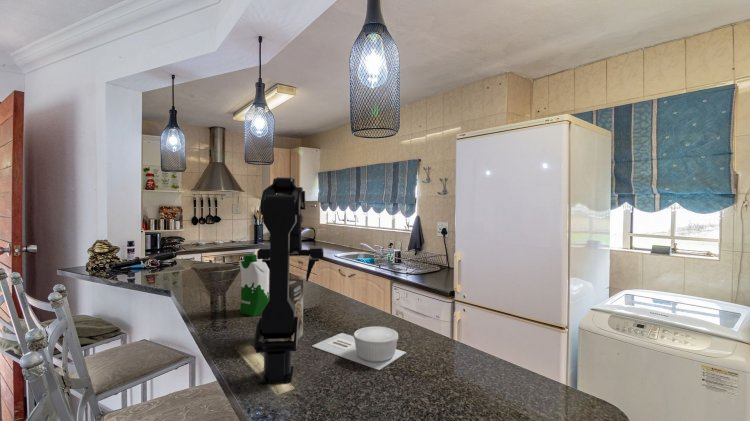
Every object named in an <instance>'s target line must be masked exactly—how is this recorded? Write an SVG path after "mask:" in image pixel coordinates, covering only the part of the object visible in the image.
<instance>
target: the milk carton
mask: <svg viewBox="0 0 750 421" xmlns="http://www.w3.org/2000/svg"><path fill="white" fill-rule="evenodd" d="M243 258H244V259H242V260H239V261H238V264H239V269H240V274H241V275H240V283H241V284H240V307H239V313H241V314H244V315H247V316H252V317H255V316H258V315H262V312H263V310H264V309H265V307H266V305H267V304H268V302H269V285H270V270H269V268H268V266H267V264H266V263H265V262H262V260H263V259H257V254H253V253H252V254H245V255H243Z"/></svg>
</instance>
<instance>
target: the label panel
mask: <svg viewBox="0 0 750 421" xmlns="http://www.w3.org/2000/svg"><path fill="white" fill-rule="evenodd" d="M311 347H312V348H315V349H318V350H321V351H323V352H326V353H329V354H333V355H335V356H338V357H341V358H344V359H346V360H348V361H352V362H355V363H357V364H360V365H363V366H366V367H369V368H372V369H375V370H378V371H380V370H382V369H384V368H385V367H386V366H388V365H390V364H391V363H393V362H394V361H396V360H398V359H400V358H401V357H402V356H403V355H405V354H407V351H403V350H400V349H397V348H396V351H395V354H394V355H393V357H392V358H390V359H388V360H386V361H380V362H373V361H367V360H364V359H362V358H360V357H359V355H358V354H357V351H356V346H355V340H354V335H350V334H347V333H344V332H341V333H339V334H335V335H334V336H331V337H329V338H326V339H324V340H322V341H320V342H318V343H315V344H313V345H311Z"/></svg>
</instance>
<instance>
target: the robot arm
mask: <svg viewBox="0 0 750 421" xmlns="http://www.w3.org/2000/svg"><path fill="white" fill-rule="evenodd" d="M306 203H307V202H306V191H305V190H304V188H303V187H302V186H297V185H296V179H295V178H293V177H282V176H281V177H276V178H273V180H272V184H270V185H269V186H267V188H265V189H264V190H263V191H262V196H261V199H260V203H259V204H260V206H259V207H260V208H259V210H260V215H261V216H262V222H263V223H262V224H263V225H264V226H265V228H266V229H267V231H268V233H269V235H270V236H269V237H270V238H269V241H270V242H269V243H270V244H269V245H270V246H269V247H267V246H266V247H265V246H262V247H260V248H259V249H258V250H257V252H256V255H257V259H263V260H262V262H265V263H266V264H267V266H268V268H269V285H270V297H269V302H268V304H267V305H266V307H265V309H264V310H263V312H262V314H261V317H259V320H258V323H256V328H255V336H254V350H255V354H259V353H263V371H262V374H261V376H260V380H259V384H260V385H262V384H263V385H264V384H280V383H282V384H283V383H290V382H293V381H292V380H293V375H294V368H295V367H294V366H293V365H292V352H297V349H298V345H299V339H298V326H299V318H298V317H296V307H295V304H294V302H292V301H291V299H290V298H289V279H290V260H291V259H290V257H297V256H298V257H300V256H301V257H305V256H306V257H307V256H308V262H307V270H306V276H305V281H306V282H307V283H308V281H309V279H310V275H311V272H312V270H313V268H314V265H315V264H316V262H320V259H324V248H323V247H322V246H310V247H309V249H302V246H303V245H302V244H303V240H302V224H303V222H304V220H305V218H304V214H303V213H302V210H303V211H304V210H306V207H307V206H306V205H307V204H306ZM293 335H294V341H269V342H268V341H264V340H269V339H288V338H292V337H293Z"/></svg>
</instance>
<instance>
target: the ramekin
mask: <svg viewBox="0 0 750 421" xmlns="http://www.w3.org/2000/svg"><path fill="white" fill-rule="evenodd" d="M353 336H354V340H355V346H356V351H357V354H358V355H359V357H360V358H362V359H364V360H367V361H373V362H380V361H386V360H388V359H390V358H392V357H393V355H394V354H395V351H396V349H397V343H398V340H399V333H398V331H397V330H395V329H393V328H389V327H386V326H366V327H362V328H359V329H357V330H355V332H354V333H353Z"/></svg>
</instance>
